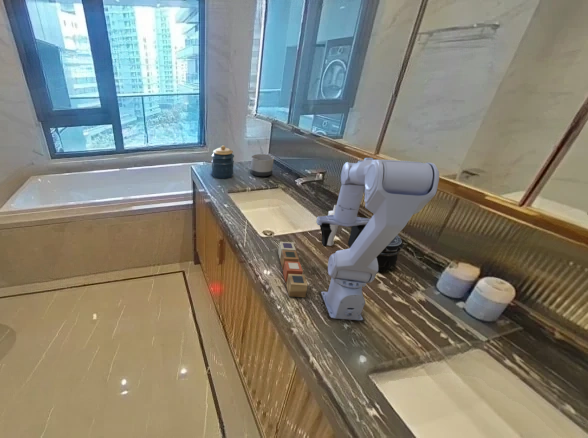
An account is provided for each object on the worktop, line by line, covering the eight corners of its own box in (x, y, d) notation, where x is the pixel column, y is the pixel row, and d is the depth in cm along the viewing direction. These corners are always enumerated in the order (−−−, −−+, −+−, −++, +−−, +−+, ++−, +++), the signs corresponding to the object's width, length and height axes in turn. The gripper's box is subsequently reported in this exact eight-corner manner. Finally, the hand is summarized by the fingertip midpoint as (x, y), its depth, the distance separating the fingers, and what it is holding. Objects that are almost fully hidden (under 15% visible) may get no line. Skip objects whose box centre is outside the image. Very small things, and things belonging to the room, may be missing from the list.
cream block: (293, 260, 95) (295, 249, 92) (279, 260, 95) (281, 248, 93) (291, 253, 99) (293, 242, 96) (278, 252, 99) (279, 241, 97)
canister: (209, 172, 174) (209, 143, 165) (229, 170, 176) (231, 142, 167) (214, 179, 162) (214, 149, 154) (236, 178, 164) (237, 147, 156)
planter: (246, 172, 173) (247, 155, 168) (265, 169, 176) (266, 153, 171) (256, 179, 162) (258, 161, 157) (276, 176, 166) (278, 159, 161)
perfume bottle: (336, 247, 102) (346, 209, 94) (323, 245, 102) (332, 208, 95) (333, 240, 105) (343, 203, 98) (321, 239, 106) (329, 203, 99)
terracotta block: (300, 283, 85) (303, 270, 83) (285, 282, 86) (287, 270, 83) (297, 273, 89) (299, 261, 87) (282, 272, 89) (284, 260, 87)
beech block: (296, 270, 90) (299, 258, 88) (282, 269, 91) (284, 258, 89) (294, 261, 94) (296, 250, 92) (280, 261, 95) (282, 249, 92)
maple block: (305, 297, 80) (308, 285, 78) (288, 296, 80) (291, 283, 78) (301, 286, 84) (304, 274, 82) (286, 285, 84) (288, 273, 82)
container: (388, 253, 98) (398, 228, 93) (399, 277, 87) (410, 250, 82) (348, 247, 101) (355, 223, 96) (353, 269, 90) (362, 243, 86)
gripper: (369, 200, 82) (357, 239, 89) (317, 198, 84) (309, 237, 90) (380, 211, 76) (366, 252, 82) (324, 209, 77) (315, 249, 84)
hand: (337, 245), depth 86 cm, fingers open, 7 cm apart
